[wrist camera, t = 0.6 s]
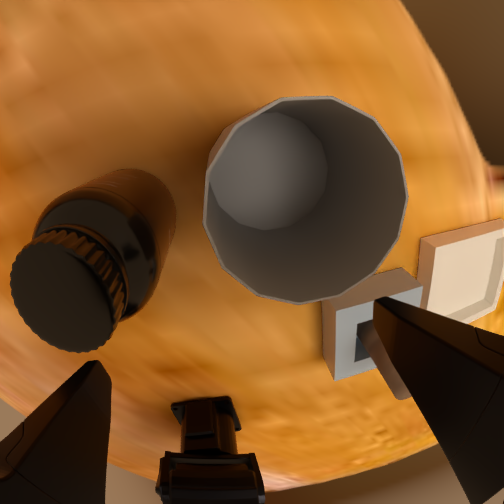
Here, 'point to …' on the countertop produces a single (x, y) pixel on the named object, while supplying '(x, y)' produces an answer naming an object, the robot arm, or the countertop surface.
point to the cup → (304, 198)
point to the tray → (462, 271)
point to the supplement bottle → (94, 259)
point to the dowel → (381, 359)
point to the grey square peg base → (360, 319)
